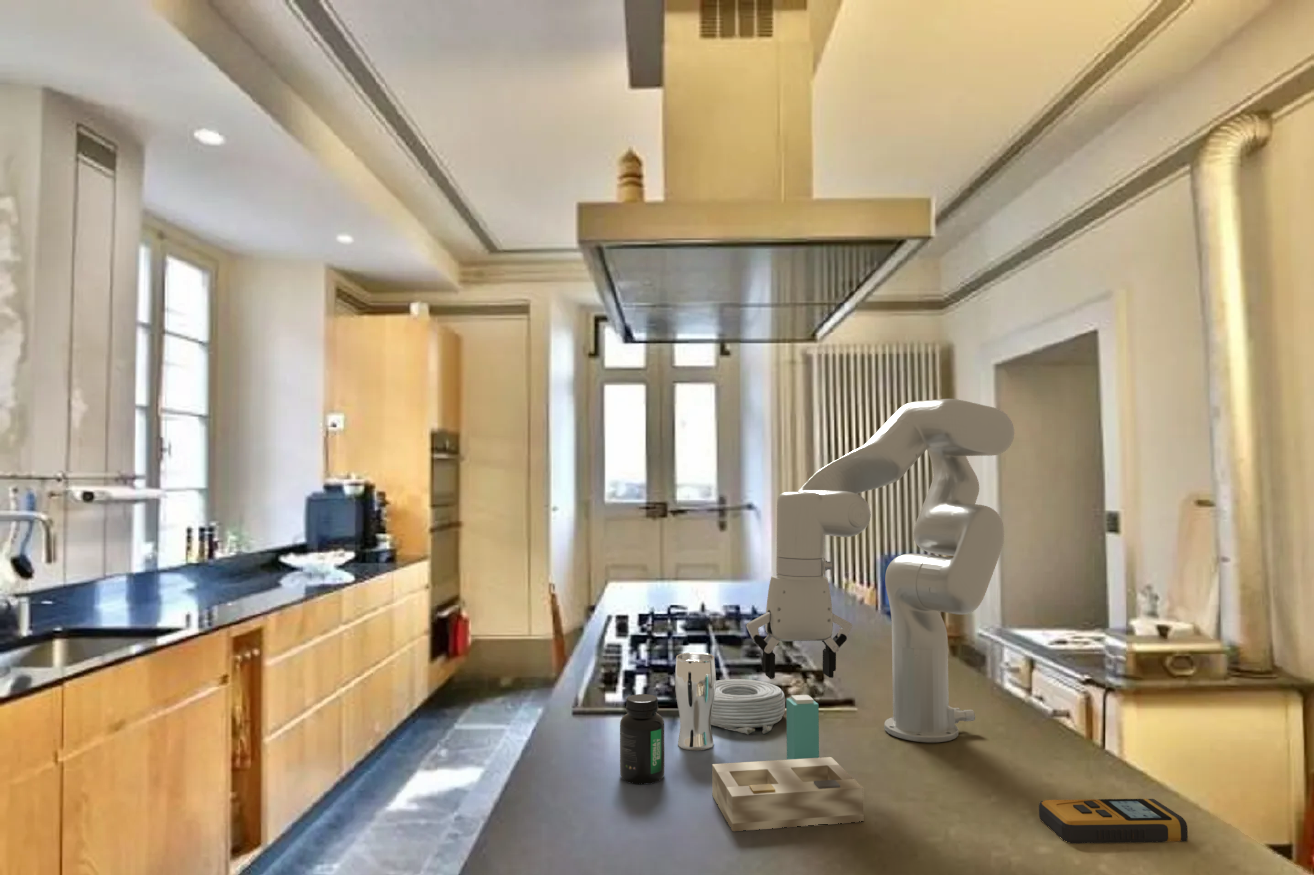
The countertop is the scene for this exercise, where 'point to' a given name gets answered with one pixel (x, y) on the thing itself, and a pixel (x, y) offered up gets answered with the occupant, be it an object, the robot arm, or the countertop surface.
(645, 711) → the supplement bottle
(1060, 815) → the electronic device
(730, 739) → the countertop surface
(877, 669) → the countertop surface
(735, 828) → the socket block
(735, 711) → the cable
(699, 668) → the beer glass
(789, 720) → the plug
